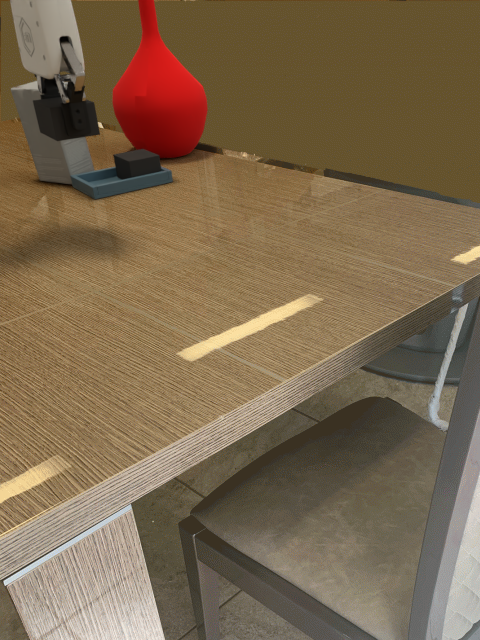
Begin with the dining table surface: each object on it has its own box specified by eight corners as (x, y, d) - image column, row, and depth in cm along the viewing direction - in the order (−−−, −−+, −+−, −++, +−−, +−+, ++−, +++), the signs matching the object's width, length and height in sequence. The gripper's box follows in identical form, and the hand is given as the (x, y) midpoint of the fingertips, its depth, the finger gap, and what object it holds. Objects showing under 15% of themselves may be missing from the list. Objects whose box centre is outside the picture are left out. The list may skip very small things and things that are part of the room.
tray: (95, 199, 109) (92, 187, 107) (72, 187, 114) (70, 175, 113) (173, 181, 116) (171, 170, 115) (148, 171, 122) (146, 160, 121)
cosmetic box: (96, 176, 119) (76, 81, 109) (69, 187, 114) (46, 88, 104) (61, 171, 122) (39, 77, 112) (33, 181, 117) (7, 84, 107)
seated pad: (132, 184, 113) (128, 161, 111) (117, 177, 117) (112, 154, 115) (162, 178, 116) (159, 155, 114) (146, 171, 120) (143, 148, 118)
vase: (106, 151, 133) (71, -24, 115) (181, 137, 143) (161, -27, 125) (150, 170, 122) (120, -20, 104) (229, 153, 132) (214, -24, 114)
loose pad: (57, 141, 84) (49, 108, 82) (40, 132, 88) (32, 100, 85) (100, 134, 87) (94, 102, 85) (82, 126, 91) (75, 95, 88)
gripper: (-22, -35, 79) (19, 122, 90) (29, -30, 69) (68, 147, 80) (39, -36, 83) (70, 115, 94) (95, -31, 73) (123, 138, 84)
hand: (69, 128), depth 87 cm, fingers closed on loose pad, 6 cm apart
